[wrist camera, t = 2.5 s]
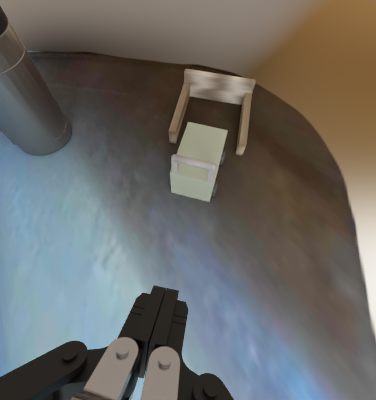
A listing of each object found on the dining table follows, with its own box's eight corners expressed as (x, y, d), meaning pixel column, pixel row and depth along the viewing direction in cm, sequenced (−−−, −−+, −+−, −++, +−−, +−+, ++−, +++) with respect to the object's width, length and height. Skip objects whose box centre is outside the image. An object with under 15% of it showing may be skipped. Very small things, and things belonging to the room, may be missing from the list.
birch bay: (169, 142, 41) (168, 121, 37) (185, 91, 48) (185, 68, 43) (242, 155, 40) (249, 136, 36) (248, 101, 47) (255, 79, 42)
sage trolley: (167, 192, 37) (164, 156, 28) (184, 145, 41) (185, 102, 33) (212, 203, 36) (223, 170, 28) (224, 155, 41) (236, 113, 32)
